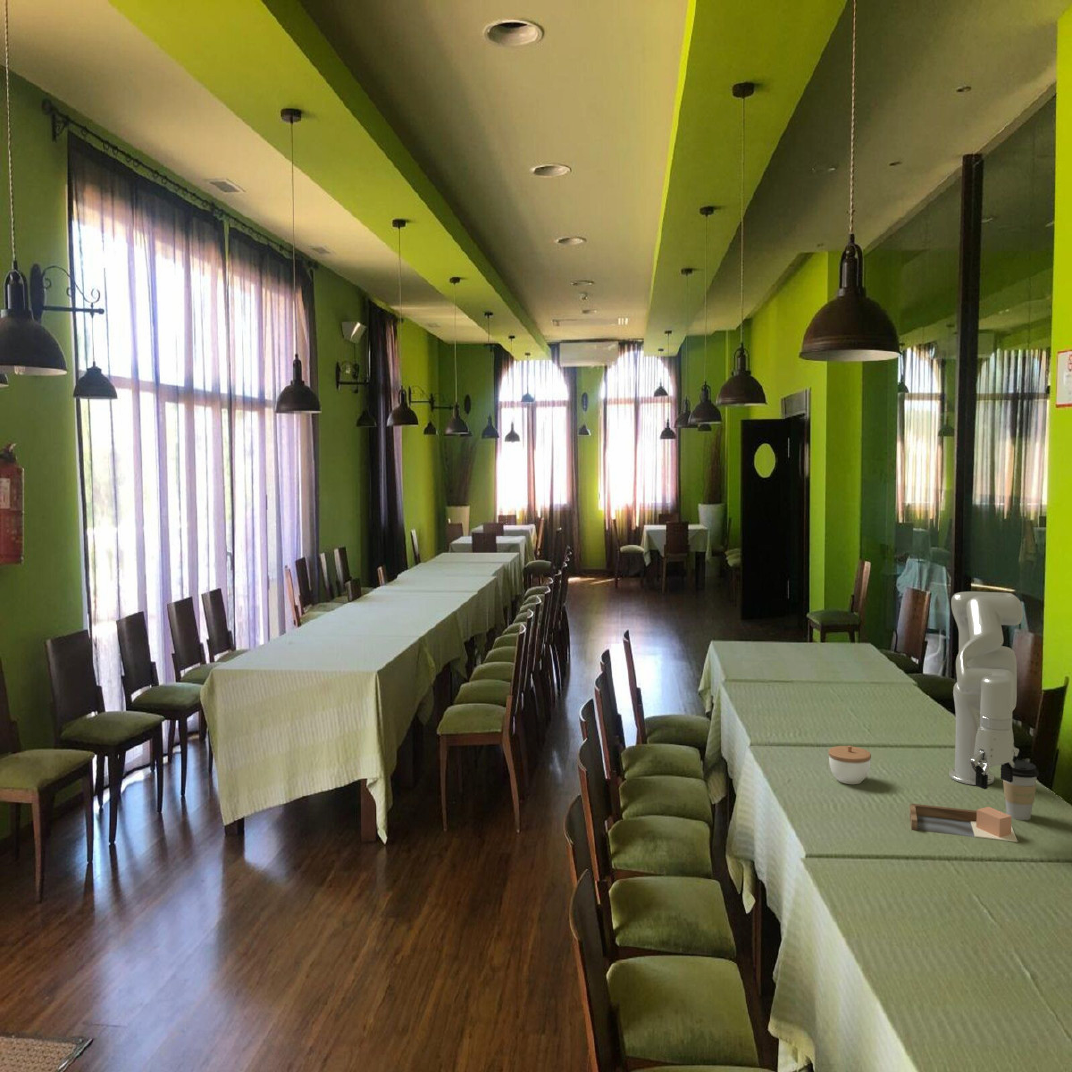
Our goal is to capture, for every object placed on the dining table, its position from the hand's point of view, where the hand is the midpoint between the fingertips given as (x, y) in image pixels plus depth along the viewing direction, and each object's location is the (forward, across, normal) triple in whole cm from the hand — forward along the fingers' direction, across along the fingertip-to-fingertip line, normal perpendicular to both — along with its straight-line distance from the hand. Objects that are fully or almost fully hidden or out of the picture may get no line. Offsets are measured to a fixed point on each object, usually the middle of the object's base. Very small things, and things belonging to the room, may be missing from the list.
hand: (994, 784), depth 232 cm
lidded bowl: (+14, +6, -46) cm, 49 cm away
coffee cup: (+14, -15, -4) cm, 21 cm away
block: (+13, +1, +1) cm, 13 cm away
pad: (+13, +1, +1) cm, 13 cm away
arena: (+13, +5, -5) cm, 15 cm away
